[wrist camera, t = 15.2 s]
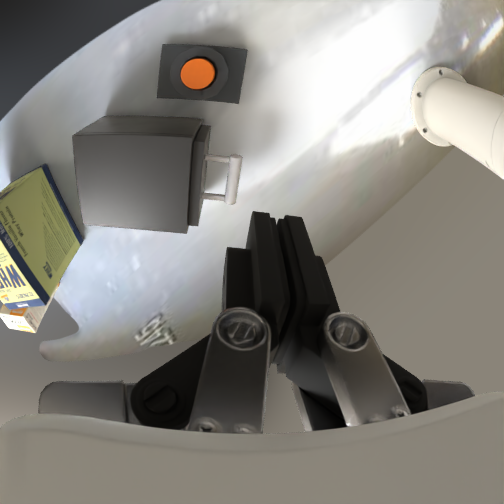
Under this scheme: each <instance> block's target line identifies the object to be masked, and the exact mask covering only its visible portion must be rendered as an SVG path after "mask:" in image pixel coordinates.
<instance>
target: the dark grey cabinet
mask: <svg viewBox="0 0 504 504" xmlns="http://www.w3.org/2000/svg"><path fill="white" fill-rule="evenodd" d="M202 121H203V119H198V118H184V117H164V116H104V117H102V118H100V119H99V120H97V121H95V122H94V123H92V124H90V125H88V126H87V127H85V128H84V129H82V130H80V131H79V132H77V133H76V134H74V135H73V136H72V137H73V151H74V162H75V172H76V181H77V188H78V196H79V202H80V209H81V215H82V220H83V224H84V225H95V226H107V227H118V228H130V229H141V230H152V231H163V232H174V233H184V234H187V231H188V227H189V225H188V215H189V196H190V179H191V165H192V152H193V141H194V139H195V137H196V135H197V133H198V131H199V129H200V127H201V125H202Z"/></svg>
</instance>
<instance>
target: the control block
mask: <svg viewBox="0 0 504 504" xmlns="http://www.w3.org/2000/svg"><path fill="white" fill-rule="evenodd" d="M247 51H248V50H247V49H239V48H230V47H219V46H206V45H184V44H163V45H162V52H161V60H160V70H159V80H158V92H157V98H173V99H191V100H206V101H217V102H227V103H236V104H239V99H240V93H241V87H242V81H243V75H244V69H245V63H246V57H247ZM192 59H206V60H208V61H209V62H211V63H212V65H213V66H214V69H215V76H214V79H213V80H212V82H211V83H210V84H209V85H208V86H206V87H204V88H202V89H191V88H189V87H187V86H186V85H185V84H184V83H183V82H182V80H181V70H182V68H183V66H184V65H185V64H186V63H187V62H188V61H190V60H192Z"/></svg>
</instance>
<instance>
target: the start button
mask: <svg viewBox="0 0 504 504" xmlns="http://www.w3.org/2000/svg"><path fill="white" fill-rule="evenodd" d="M214 76H215V69H214V66H213V65H212V63H211V62H209V61H208V60H206V59H192V60H190V61H188V62H187V63H186V64H185V65H184V66H183V68H182V70H181V80H182V82H183V83H184V84H185V85H186V86H187V87H189V88H191V89H202V88H204V87H206V86H208V85H209V84H210V83H211V82H212V80H213V79H214Z"/></svg>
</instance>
